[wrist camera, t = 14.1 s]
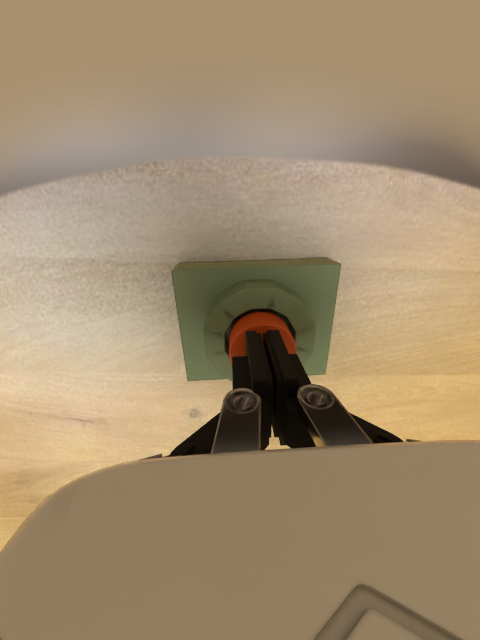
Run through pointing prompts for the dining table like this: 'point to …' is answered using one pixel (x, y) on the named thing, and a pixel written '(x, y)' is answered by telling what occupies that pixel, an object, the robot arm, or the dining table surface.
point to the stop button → (258, 331)
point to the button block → (254, 308)
